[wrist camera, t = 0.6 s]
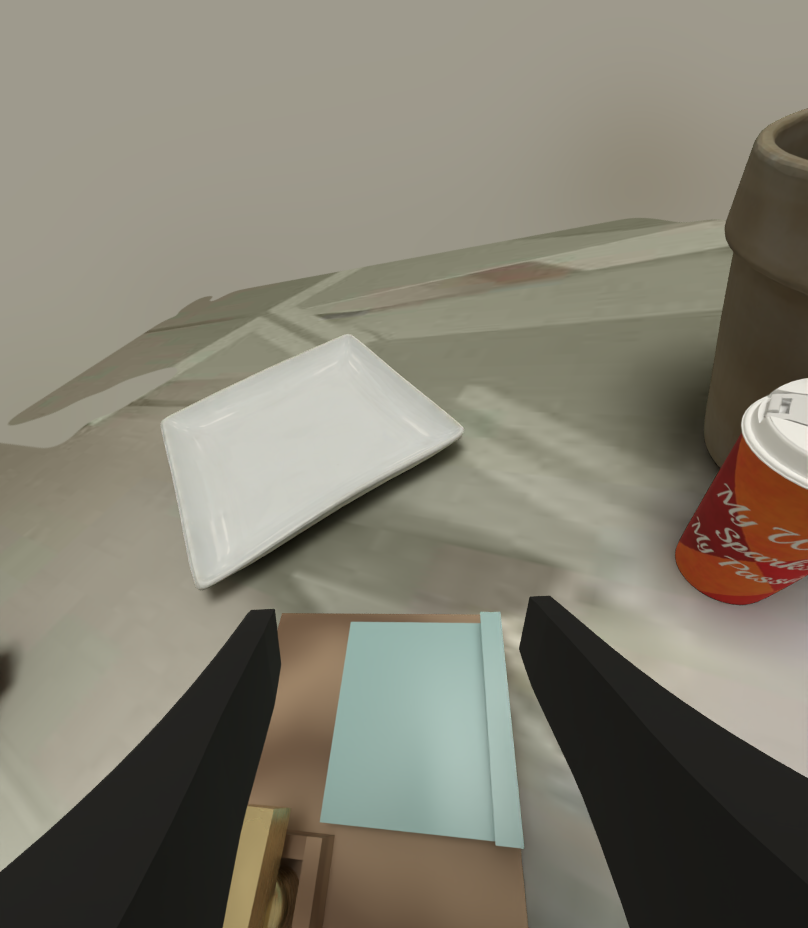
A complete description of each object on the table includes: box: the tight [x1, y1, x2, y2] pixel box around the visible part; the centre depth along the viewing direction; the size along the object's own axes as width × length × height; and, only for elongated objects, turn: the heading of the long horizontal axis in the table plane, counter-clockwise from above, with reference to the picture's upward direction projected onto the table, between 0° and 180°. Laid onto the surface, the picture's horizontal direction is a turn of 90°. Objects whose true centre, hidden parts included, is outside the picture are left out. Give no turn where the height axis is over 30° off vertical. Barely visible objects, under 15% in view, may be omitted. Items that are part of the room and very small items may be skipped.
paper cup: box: [675, 378, 808, 605], centre depth 21 cm, size 8×8×14 cm
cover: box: [320, 612, 524, 849], centre depth 21 cm, size 10×10×3 cm
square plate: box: [161, 334, 465, 590], centre depth 42 cm, size 27×27×4 cm
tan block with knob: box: [223, 804, 299, 928], centre depth 17 cm, size 7×2×5 cm, turn 176°
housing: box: [248, 613, 528, 928], centre depth 21 cm, size 18×16×4 cm
